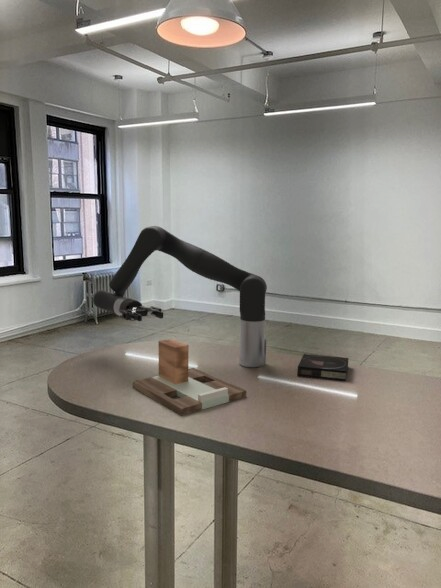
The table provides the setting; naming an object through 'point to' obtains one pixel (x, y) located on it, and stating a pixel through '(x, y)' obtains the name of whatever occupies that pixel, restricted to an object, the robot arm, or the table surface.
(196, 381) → the lane board
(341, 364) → the portable cd player
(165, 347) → the block
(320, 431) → the table surface
